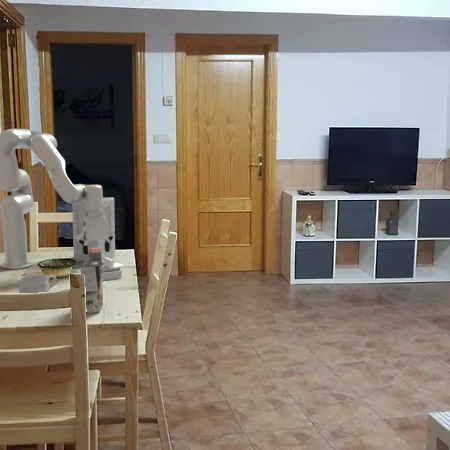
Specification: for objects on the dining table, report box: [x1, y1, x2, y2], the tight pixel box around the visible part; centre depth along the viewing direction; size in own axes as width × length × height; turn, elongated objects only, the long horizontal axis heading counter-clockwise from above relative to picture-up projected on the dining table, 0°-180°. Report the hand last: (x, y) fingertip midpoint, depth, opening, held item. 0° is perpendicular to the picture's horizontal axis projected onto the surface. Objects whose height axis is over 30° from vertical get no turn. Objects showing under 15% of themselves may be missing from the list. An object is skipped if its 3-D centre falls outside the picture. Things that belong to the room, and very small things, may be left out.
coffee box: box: [80, 261, 104, 314], centre depth 215 cm, size 9×6×16 cm
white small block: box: [103, 257, 126, 269], centre depth 265 cm, size 7×6×4 cm
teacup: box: [17, 274, 57, 294], centre depth 229 cm, size 14×11×8 cm
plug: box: [89, 248, 102, 261], centre depth 273 cm, size 4×4×9 cm
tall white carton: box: [71, 197, 116, 262], centre depth 292 cm, size 19×15×28 cm
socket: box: [71, 261, 122, 281], centre depth 261 cm, size 16×16×4 cm
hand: (96, 252), depth 273 cm, fingers open, 9 cm apart
